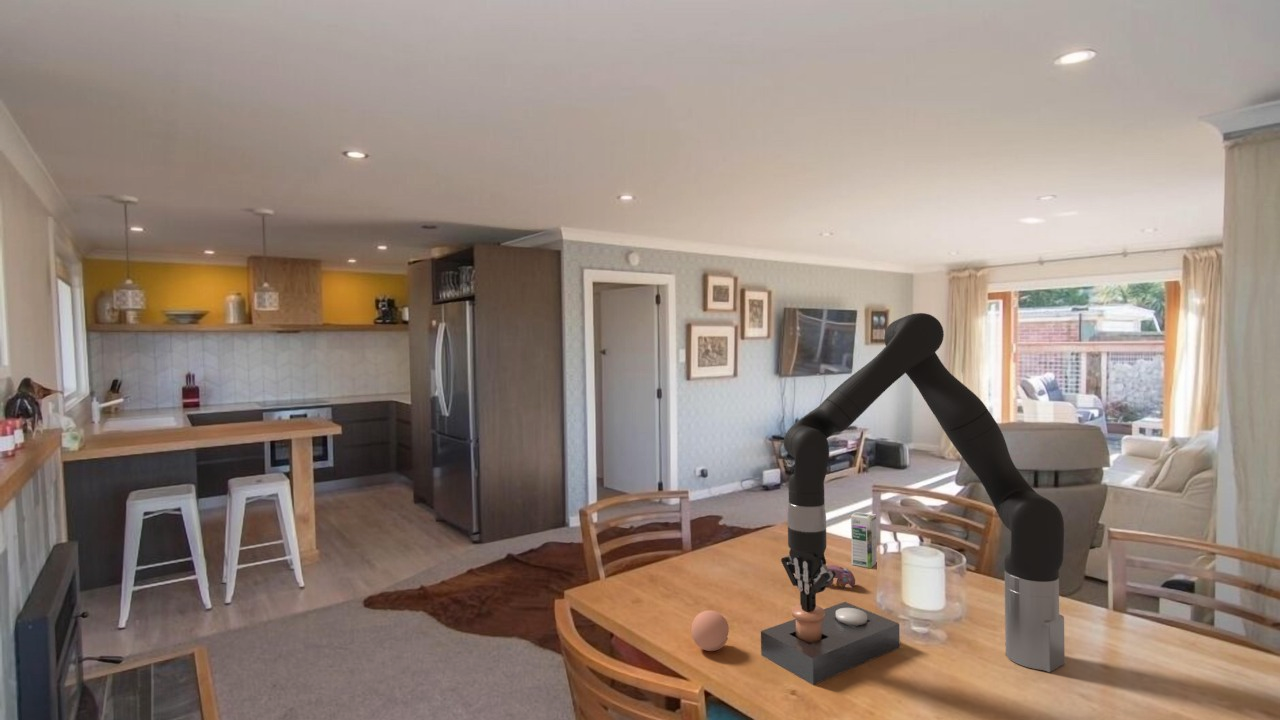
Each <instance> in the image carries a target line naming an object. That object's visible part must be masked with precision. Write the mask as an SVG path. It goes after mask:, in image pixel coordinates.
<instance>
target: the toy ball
mask: <svg viewBox="0 0 1280 720" xmlns="http://www.w3.org/2000/svg"><path fill="white" fill-rule="evenodd" d="M690 630H691V637H692V639H693V641H694V643H695V644H696V645H697V646H698V648H700V649H702V650H704V651H708V652H714V651H717V650H720V649H721V648H723V647H724V646H725V644H726V643H727V641H728V639H729V637H728V636H729V632H730V627H729V623H728V621H727V620H726V618H725V617H724V615H722V614H721V613H719V612H718V611H715V610H708V609H707V610H703V611H701V612H699V613H698V614H696V616H695V617H694V618H693V621H692V624H691V629H690Z"/></svg>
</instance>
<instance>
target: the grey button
mask: <svg viewBox="0 0 1280 720" xmlns="http://www.w3.org/2000/svg"><path fill="white" fill-rule="evenodd" d="M836 619H837V620H838V621H840V622H842V623H844V624H846V625H849V626H851V627H853V628H854V627H856V626H859V625H862V624H865V623H866V622H867V614H866V613H865V612H864V611H861V610H859V609H855V608H841V609H838V610H836Z"/></svg>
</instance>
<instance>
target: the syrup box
mask: <svg viewBox="0 0 1280 720" xmlns="http://www.w3.org/2000/svg"><path fill="white" fill-rule="evenodd" d="M850 529H851V530H850V535H851V536H850V537H851V566H858V567H862V568H868V569H872V568H873V567H874V566H875V565H876V564H877V563H876V560H877V559H878V558H877V557H878V555H877V554H878V553H877V549H878V547H877V514H876V513H873V514H872V513H867V512H866V513H865V512H860V511H857V512H854V513H853V514H851V516H850ZM877 561H878V560H877Z"/></svg>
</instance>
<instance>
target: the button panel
mask: <svg viewBox="0 0 1280 720" xmlns="http://www.w3.org/2000/svg"><path fill="white" fill-rule="evenodd" d="M841 608H855V609H859V610H861V611H864V612H865V613H866V614H867V622H866V623H865V624H862V625H859V626H856V627H854V628H853V627H851V626H849V625H846V624H844V623H842V622H840V621H838V620H837V619H836V610H838V609H841ZM823 609H824V611H825V618H824V619H823V620H821V633H822V640H820V641H817V642H815V643H812V644H811V643H806V642H804V641H802V640H800V639H798V638H796V618H795V619H791V620H788V621H786V622H783V623H779V624H777V625H775V626H771V627H769V628H765V629H762V630H761V631H760V650H761V651H760V655H761V656H762V657H764V658H765V659H768V660H769V661H771V662H773V663H774V664H776V665H778V666H779V667H781V668H783V669H785V670H786V671H788V672H790V673H791V674H794V675H796V676H797V677H799V678H801V679H802V680H804V681H805V682H807V683H809V684H811V685H813V686H814V685H816V684H818V683H821V682H823V681H826V680H828V679H831V678H832V677H834V676H837V675H839V674H841V673H844V672H846V671H848V670H851V669H854V668H855V667H857V666H860V665H863V664H864V663H865V664H866V663H867V662H869V661H872V660H873V659H876V658H878V657H882V656H883V655H885V654H887V653H890V652H892V651H895V650H896V649H899V648H900V647H901V646H900V643H901V641H900V640H901V639H900V638H901V637H900V623H899V622H896V621H894V620H892V619H889V618H886V617H884V616H882V615H879V614H877V613H874V612H872V611H869V610H866V609H864V608H861V607H860V606H859V607H858V606H857V605H854V604H852V603H849V602H847V601H843V602H840V603H838V604H835V605H832V606H829V607H826V608H823Z"/></svg>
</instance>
